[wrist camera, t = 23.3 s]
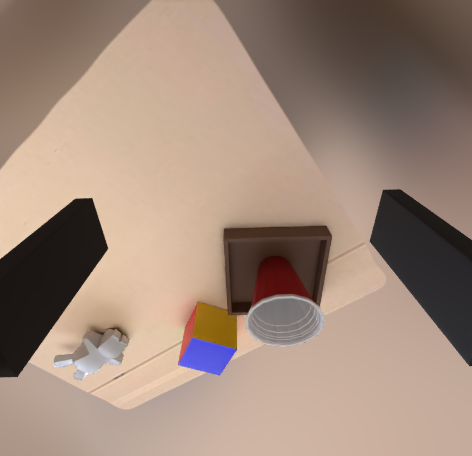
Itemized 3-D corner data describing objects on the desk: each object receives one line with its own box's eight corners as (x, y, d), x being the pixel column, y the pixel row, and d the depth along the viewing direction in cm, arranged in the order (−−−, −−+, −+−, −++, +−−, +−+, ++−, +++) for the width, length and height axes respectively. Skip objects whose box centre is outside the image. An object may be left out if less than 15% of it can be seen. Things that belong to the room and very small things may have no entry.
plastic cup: (231, 279, 48) (230, 336, 38) (263, 233, 44) (273, 284, 33) (282, 300, 51) (294, 359, 41) (317, 259, 46) (342, 314, 36)
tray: (326, 225, 44) (332, 235, 41) (314, 300, 52) (318, 313, 49) (224, 228, 44) (223, 238, 41) (228, 302, 52) (227, 315, 49)
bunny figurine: (135, 360, 54) (79, 392, 56) (140, 339, 58) (89, 370, 61) (99, 333, 50) (41, 369, 52) (108, 313, 55) (54, 347, 57)
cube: (197, 301, 52) (192, 337, 45) (236, 313, 53) (236, 349, 46) (184, 328, 55) (177, 365, 48) (221, 338, 57) (219, 375, 50)
